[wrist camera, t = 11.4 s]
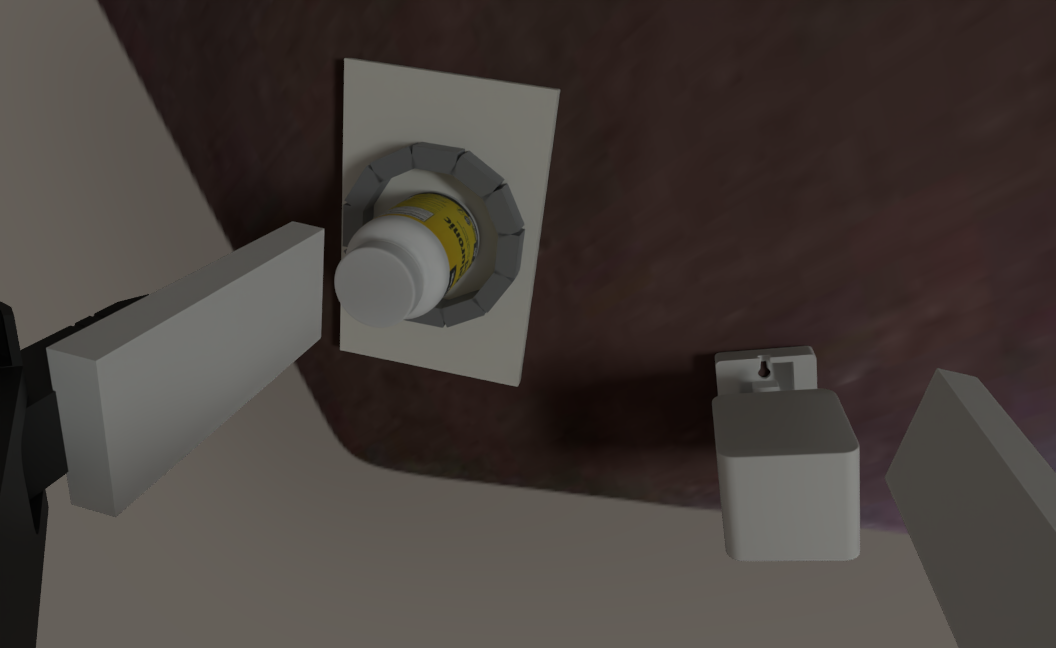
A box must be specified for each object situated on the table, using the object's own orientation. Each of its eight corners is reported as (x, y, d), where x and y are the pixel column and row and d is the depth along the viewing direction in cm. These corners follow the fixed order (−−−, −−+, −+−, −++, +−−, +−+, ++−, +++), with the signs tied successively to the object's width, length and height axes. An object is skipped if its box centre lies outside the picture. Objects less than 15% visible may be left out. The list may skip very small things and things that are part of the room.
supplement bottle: (481, 282, 41) (428, 350, 33) (395, 272, 42) (321, 335, 33) (483, 193, 39) (428, 239, 30) (393, 184, 40) (313, 226, 31)
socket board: (350, 57, 39) (331, 59, 36) (560, 89, 37) (553, 92, 35) (345, 344, 46) (328, 360, 44) (520, 380, 44) (512, 398, 42)
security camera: (716, 453, 44) (727, 562, 35) (706, 353, 41) (716, 442, 32) (822, 448, 42) (863, 561, 33) (819, 344, 40) (863, 435, 31)
